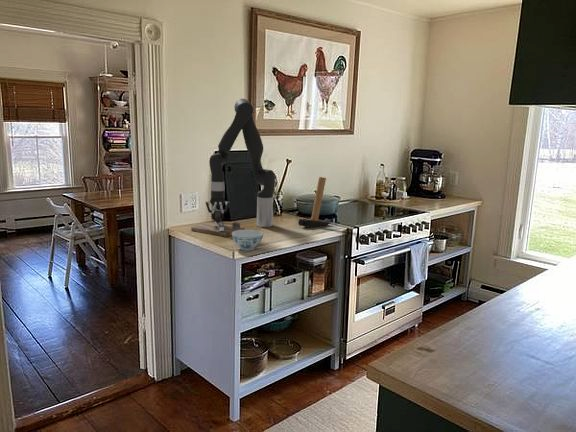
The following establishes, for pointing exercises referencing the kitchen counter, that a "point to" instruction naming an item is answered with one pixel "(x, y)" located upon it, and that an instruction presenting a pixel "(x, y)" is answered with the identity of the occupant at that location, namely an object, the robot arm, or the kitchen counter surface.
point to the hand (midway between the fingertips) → (217, 219)
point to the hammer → (316, 208)
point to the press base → (212, 229)
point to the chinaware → (247, 238)
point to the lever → (218, 220)
